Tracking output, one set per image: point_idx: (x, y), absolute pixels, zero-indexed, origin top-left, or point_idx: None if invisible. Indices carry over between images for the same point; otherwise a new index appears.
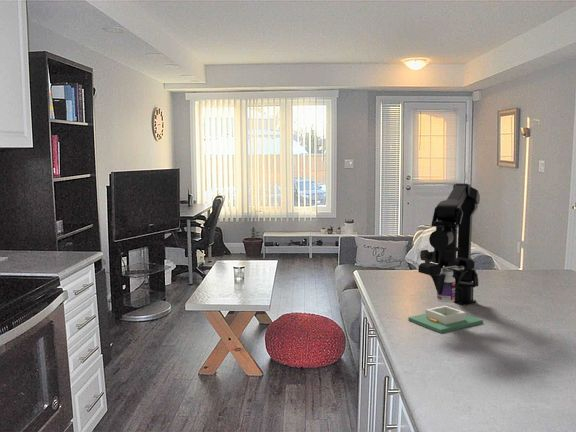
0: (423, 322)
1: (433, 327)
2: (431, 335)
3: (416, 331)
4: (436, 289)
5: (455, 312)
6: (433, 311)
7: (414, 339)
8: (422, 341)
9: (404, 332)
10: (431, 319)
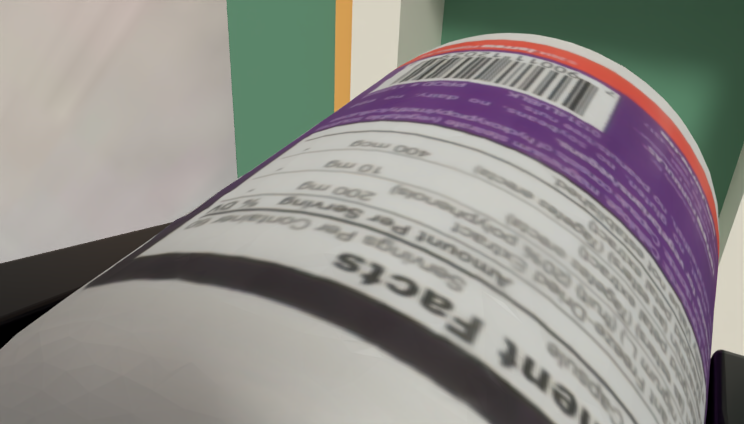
0: (242, 5)
1: (240, 169)
2: (169, 214)
3: (118, 67)
4: (135, 242)
5: (733, 210)
6: (381, 23)
7: (26, 170)
8: (55, 231)
9: (23, 12)
10: (335, 46)
